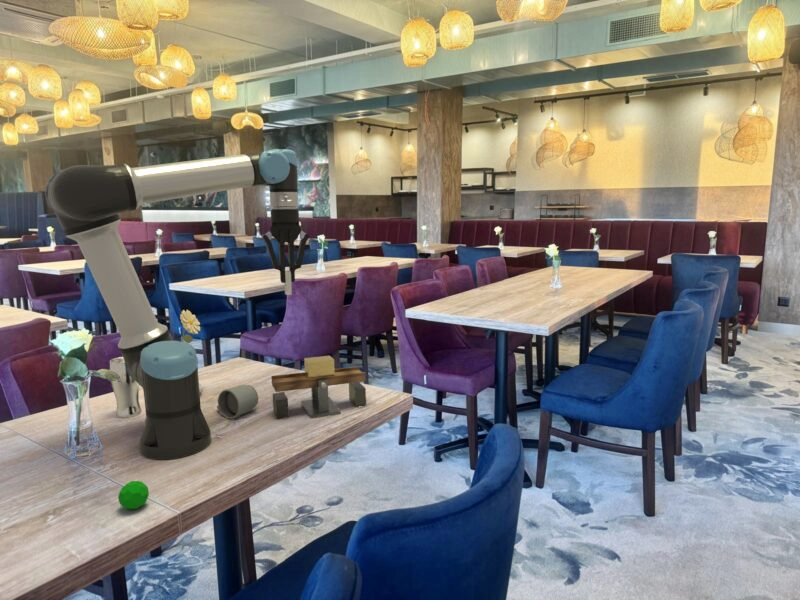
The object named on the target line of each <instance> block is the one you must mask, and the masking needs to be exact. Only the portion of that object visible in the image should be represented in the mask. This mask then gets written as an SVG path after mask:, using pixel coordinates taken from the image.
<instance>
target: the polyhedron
mask: <svg viewBox="0 0 800 600" xmlns="http://www.w3.org/2000/svg"><path fill="white" fill-rule="evenodd" d="M149 491H150V490H149V487H148V486H147V485H146V484H145V483H144V482H143V481H140V480H131V481H129V482H128V483H126V484H125V485H124V486H122V487H121V489H120V490H119V494H118V496H117V498H118V502H119V504H120V506H122V507H123V508H124V509H125V510H138V509H139V508H140V507H141V505H142V506H143V505H144V504H146V503H147V500H148V498H149V496H150V492H149ZM138 507H139V508H138Z"/></svg>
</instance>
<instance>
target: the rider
mask: <svg viewBox="0 0 800 600" xmlns="http://www.w3.org/2000/svg"><path fill="white" fill-rule="evenodd" d="M303 360H304V362H303V363H304V372H305V377H306V378H307V379H309V378H318V377H326V376H335V370H334V369H335V359H334V358H333V357H332V356H331V355H323V356H311V357H304V359H303Z"/></svg>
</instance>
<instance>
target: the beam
mask: <svg viewBox="0 0 800 600" xmlns="http://www.w3.org/2000/svg"><path fill="white" fill-rule="evenodd" d="M334 370H335V376H326V377H318V378H309V379H307V378H306V377H305V371H304V372H295V373H287V374H278V375H270V376H271V386H272V388H273V390H274V393H280V392H288V391H297V390H304V389H311V388H314V387H318V380H324V379H327V380H328V387H330V386H337V385H347V384H349V383H355V382H360V383H363V382H366V381H367V380H366V375H367V374H366V371H361V370H360V367H359V366H350V367H340V368H334Z"/></svg>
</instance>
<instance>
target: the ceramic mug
mask: <svg viewBox="0 0 800 600" xmlns="http://www.w3.org/2000/svg"><path fill="white" fill-rule="evenodd" d="M258 402H259V395H258V392H257V390H256V388H254V387H253V385H250V384H241V385H238V386H233V387H230V388H225V389H223V390H222V391H221V392H220V393H219V395H218V397H217V405H216V408H217V411H218V412H220V413H221V415H223V416H224V417H225V418H226V419H229V420H231V419H233V420H234V419H235V418H238V417H239V416H242V415H244V414H246V413H248V412H251V411H253V409H255V408H256V407H257V406H258Z"/></svg>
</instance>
